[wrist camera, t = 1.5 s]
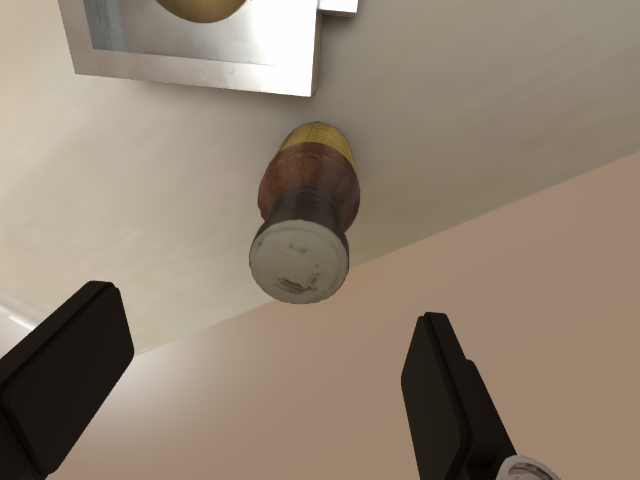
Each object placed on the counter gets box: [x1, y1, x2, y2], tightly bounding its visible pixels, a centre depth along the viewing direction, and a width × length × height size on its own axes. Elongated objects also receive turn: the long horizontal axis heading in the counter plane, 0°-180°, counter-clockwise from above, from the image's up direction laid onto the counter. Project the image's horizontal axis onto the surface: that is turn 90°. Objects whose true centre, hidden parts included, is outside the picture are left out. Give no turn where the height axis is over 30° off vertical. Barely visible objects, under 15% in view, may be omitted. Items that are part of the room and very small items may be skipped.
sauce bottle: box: [249, 122, 360, 304], centre depth 22 cm, size 6×6×20 cm
